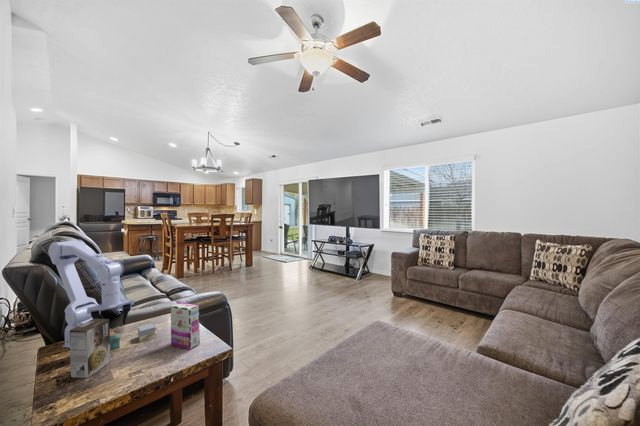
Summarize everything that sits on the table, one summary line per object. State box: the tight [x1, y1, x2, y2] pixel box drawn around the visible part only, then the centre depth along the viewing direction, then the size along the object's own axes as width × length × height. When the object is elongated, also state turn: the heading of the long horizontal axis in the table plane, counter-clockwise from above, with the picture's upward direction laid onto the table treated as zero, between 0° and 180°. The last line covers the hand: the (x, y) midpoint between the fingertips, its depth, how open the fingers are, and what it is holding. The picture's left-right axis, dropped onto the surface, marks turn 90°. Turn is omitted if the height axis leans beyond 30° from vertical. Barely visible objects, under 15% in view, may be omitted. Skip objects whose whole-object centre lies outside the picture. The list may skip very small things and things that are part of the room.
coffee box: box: [69, 318, 112, 378], centre depth 90 cm, size 9×6×16 cm
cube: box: [110, 333, 121, 352], centre depth 104 cm, size 4×4×4 cm
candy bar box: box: [170, 301, 200, 350], centre depth 106 cm, size 11×5×16 cm, turn 68°
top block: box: [137, 322, 156, 337], centre depth 112 cm, size 6×6×2 cm
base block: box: [137, 330, 158, 343], centre depth 112 cm, size 6×6×2 cm
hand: (111, 326), depth 103 cm, fingers open, 7 cm apart
